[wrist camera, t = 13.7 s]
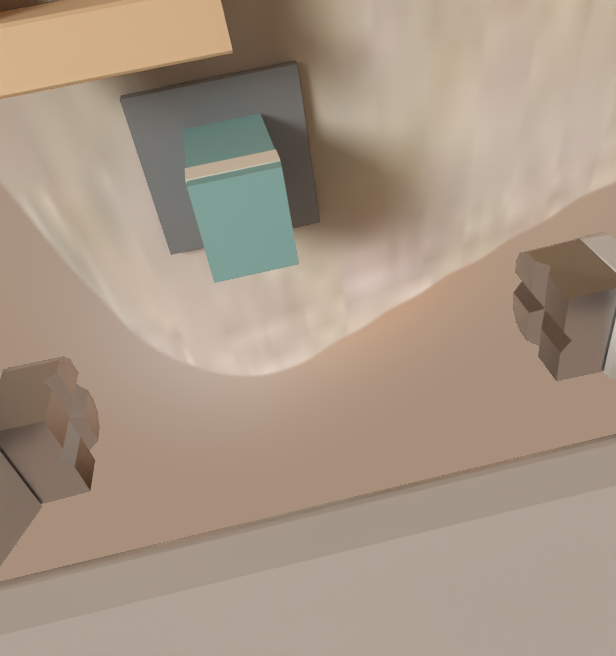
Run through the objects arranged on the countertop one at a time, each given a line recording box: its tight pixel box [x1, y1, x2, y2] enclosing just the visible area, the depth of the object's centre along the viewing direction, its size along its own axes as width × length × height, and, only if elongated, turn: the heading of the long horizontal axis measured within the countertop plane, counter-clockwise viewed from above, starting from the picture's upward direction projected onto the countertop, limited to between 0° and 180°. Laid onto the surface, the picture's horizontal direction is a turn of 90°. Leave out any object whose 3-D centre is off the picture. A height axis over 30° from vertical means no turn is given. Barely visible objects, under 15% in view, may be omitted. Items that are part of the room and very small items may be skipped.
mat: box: [120, 61, 320, 255], centre depth 40 cm, size 11×11×1 cm
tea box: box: [183, 114, 299, 283], centre depth 36 cm, size 5×6×9 cm
